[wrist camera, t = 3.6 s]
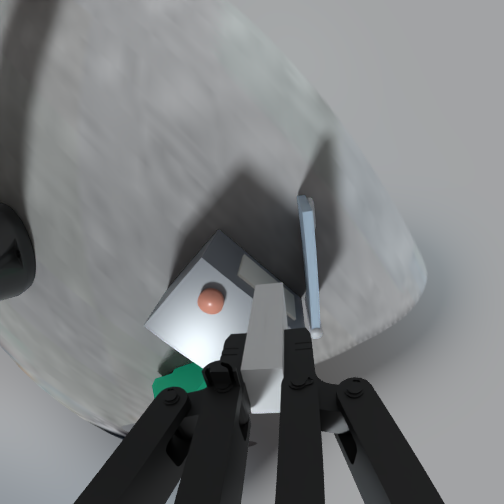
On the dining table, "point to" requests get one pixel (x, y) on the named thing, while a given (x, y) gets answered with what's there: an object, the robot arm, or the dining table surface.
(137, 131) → the dining table surface
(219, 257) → the housing
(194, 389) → the camera mount
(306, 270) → the side door
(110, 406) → the dining table surface
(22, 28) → the dining table surface
